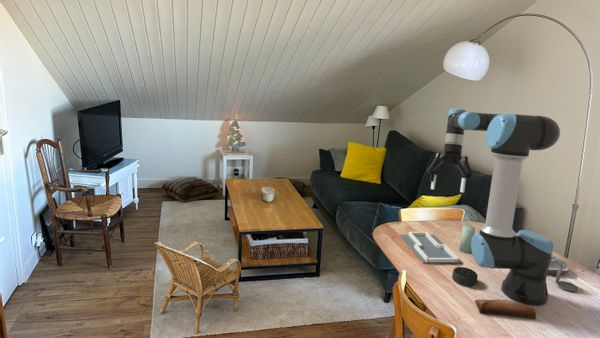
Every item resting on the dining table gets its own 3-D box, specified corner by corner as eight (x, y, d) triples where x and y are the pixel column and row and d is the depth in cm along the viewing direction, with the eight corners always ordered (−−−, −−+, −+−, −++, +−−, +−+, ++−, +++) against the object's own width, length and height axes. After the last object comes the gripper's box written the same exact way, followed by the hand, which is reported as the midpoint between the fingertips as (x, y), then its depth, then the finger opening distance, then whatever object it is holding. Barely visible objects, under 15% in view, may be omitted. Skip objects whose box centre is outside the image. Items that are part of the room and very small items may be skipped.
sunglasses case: (525, 305, 152) (533, 296, 147) (530, 325, 147) (538, 315, 142) (472, 300, 154) (478, 290, 149) (475, 318, 149) (481, 309, 144)
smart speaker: (460, 288, 162) (462, 278, 161) (447, 276, 170) (448, 266, 169) (481, 286, 164) (483, 276, 163) (466, 274, 172) (468, 265, 171)
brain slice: (560, 262, 189) (561, 255, 188) (570, 280, 173) (572, 273, 173) (511, 253, 195) (512, 247, 194) (516, 270, 179) (518, 263, 178)
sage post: (473, 253, 192) (477, 229, 189) (462, 253, 191) (466, 229, 188) (467, 248, 196) (471, 225, 194) (457, 248, 196) (461, 225, 193)
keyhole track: (462, 263, 181) (463, 259, 181) (423, 263, 179) (423, 259, 178) (433, 235, 208) (434, 231, 207) (399, 235, 206) (400, 231, 205)
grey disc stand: (580, 293, 163) (587, 268, 161) (558, 291, 163) (564, 267, 161) (568, 282, 171) (574, 258, 169) (546, 280, 171) (552, 257, 169)
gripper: (476, 146, 200) (470, 192, 201) (423, 140, 199) (417, 186, 200) (484, 147, 193) (478, 194, 194) (429, 140, 191) (423, 188, 192)
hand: (447, 190), depth 197 cm, fingers open, 13 cm apart
